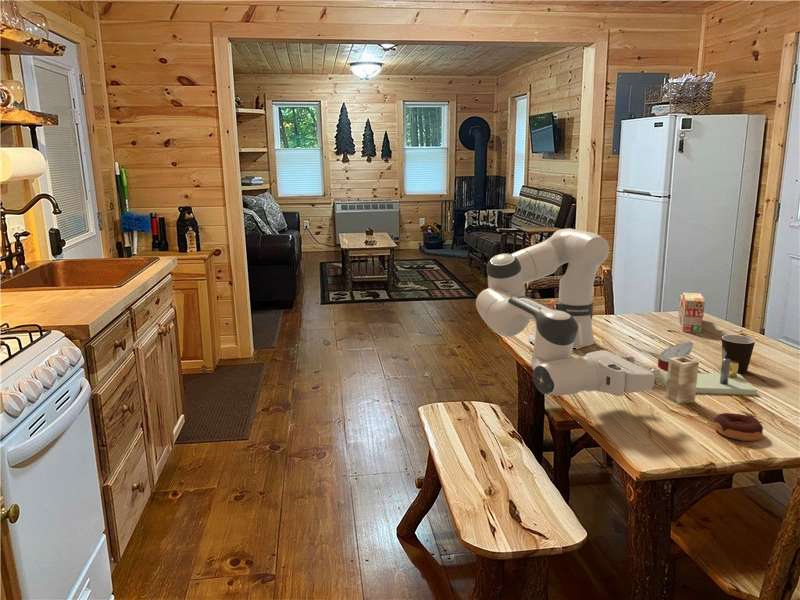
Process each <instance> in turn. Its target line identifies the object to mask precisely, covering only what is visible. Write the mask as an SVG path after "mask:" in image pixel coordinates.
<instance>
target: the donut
mask: <svg viewBox="0 0 800 600" xmlns="http://www.w3.org/2000/svg"><path fill="white" fill-rule="evenodd" d="M713 428H714V430H716V432H718V433H719V434H721V435H723V436H725V437H727V438H730V439H733V440H738V441H741V442H742V441H745V442H757V441H759V440H761V439H762V438H763V437H764V433H763V431H764V426H763V425H762V423H761V422H760V421H759V420H757V419H755V418H754V417H753V416H751V415H746V414H739V413H733V412H732V413H731V412H722V413H718V414H717V415H716V416H715V418H714V420H713Z"/></svg>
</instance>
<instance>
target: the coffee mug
mask: <svg viewBox="0 0 800 600" xmlns="http://www.w3.org/2000/svg"><path fill="white" fill-rule="evenodd" d="M755 343H756V340H755V339H754V338H753V337H750V336H746V335H740V334H725V335H722V336H721V360H722V359H723V358H728V359H731V361H735V362H738V363H739V365H738V373H737V374H740V375H741V376H743V375H746V374H747V372H748V369H749V366H750V362H751V357H752V354H753V351H754V346H755Z"/></svg>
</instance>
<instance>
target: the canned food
mask: <svg viewBox="0 0 800 600" xmlns="http://www.w3.org/2000/svg"><path fill="white" fill-rule="evenodd" d="M693 346H694V343H693V342H691V341H683V342H679V343H676V344H675V345H671V346H669V347H668V348H667V347H666V348H665V349H664V350H663V351H660V354H659V355H658V356H657V359H658V360H657V367H658V369H659V370H661V371H666V372H668V364H669V358H675V357H682V356H685V357H688V358H690V359H693V358H692V357H690V356H689V355H690V353H691V352H692V350H693Z"/></svg>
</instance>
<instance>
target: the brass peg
mask: <svg viewBox="0 0 800 600" xmlns="http://www.w3.org/2000/svg"><path fill="white" fill-rule="evenodd" d="M738 365H739V363H738V362H735V361H731V362H730V370H729V378H737V373H738Z"/></svg>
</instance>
